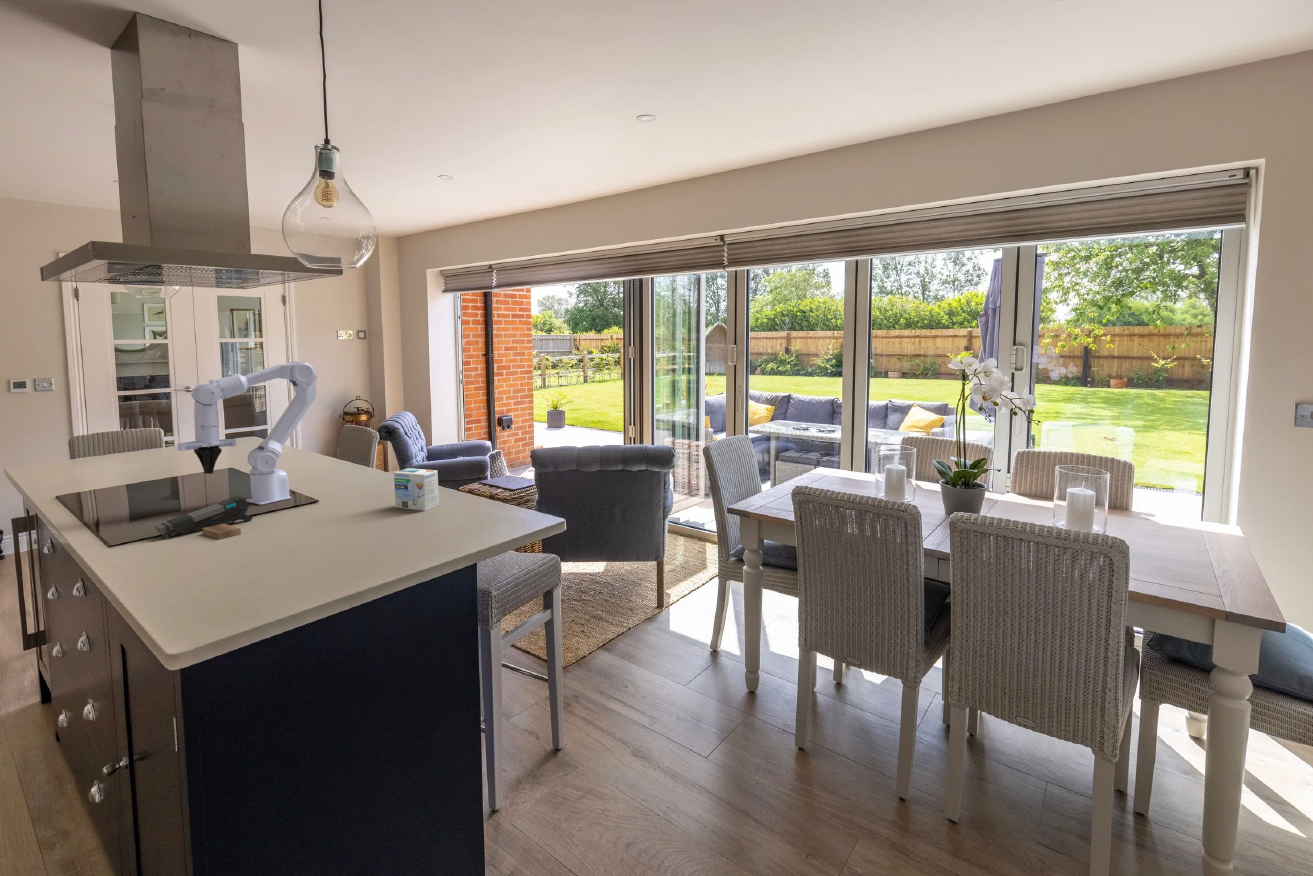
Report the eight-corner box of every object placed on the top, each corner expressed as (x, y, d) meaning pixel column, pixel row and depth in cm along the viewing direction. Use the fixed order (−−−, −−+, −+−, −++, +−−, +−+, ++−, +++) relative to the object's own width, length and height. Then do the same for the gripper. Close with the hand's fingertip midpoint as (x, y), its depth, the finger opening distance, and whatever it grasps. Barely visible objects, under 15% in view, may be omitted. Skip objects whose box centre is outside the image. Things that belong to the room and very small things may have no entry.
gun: (257, 520, 181) (240, 488, 177) (179, 562, 167) (159, 529, 163) (250, 517, 184) (233, 486, 179) (172, 558, 170) (152, 525, 166)
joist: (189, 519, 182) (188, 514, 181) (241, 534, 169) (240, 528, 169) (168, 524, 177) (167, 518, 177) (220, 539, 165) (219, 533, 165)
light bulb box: (394, 508, 195) (392, 472, 194) (409, 502, 202) (407, 467, 200) (426, 511, 192) (424, 474, 190) (440, 505, 199) (438, 469, 197)
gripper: (186, 429, 181) (188, 478, 183) (241, 425, 194) (242, 471, 196) (172, 426, 185) (174, 475, 187) (227, 423, 197) (229, 468, 199)
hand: (208, 473), depth 191 cm, fingers closed
